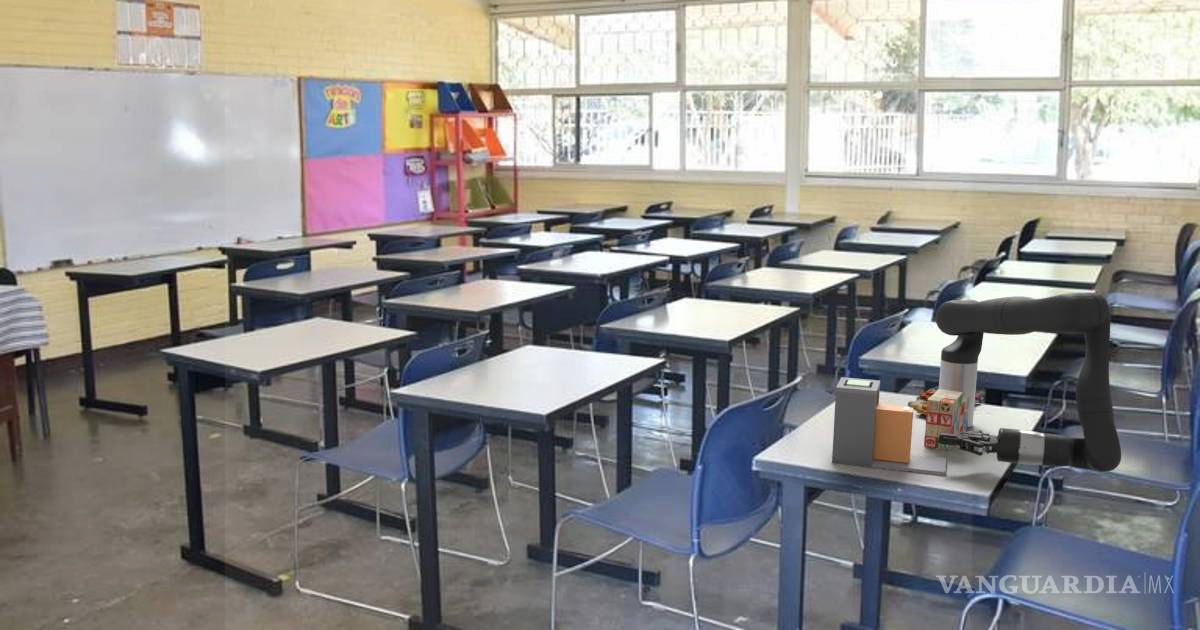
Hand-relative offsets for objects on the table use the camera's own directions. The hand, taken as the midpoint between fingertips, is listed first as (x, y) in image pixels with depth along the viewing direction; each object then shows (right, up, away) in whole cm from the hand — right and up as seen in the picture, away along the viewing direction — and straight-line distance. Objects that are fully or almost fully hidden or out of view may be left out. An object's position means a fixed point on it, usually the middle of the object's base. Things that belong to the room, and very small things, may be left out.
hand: (939, 438), depth 236 cm
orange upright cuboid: (-10, -6, +4) cm, 12 cm away
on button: (-18, +8, +5) cm, 20 cm away
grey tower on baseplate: (-10, -6, +5) cm, 13 cm away
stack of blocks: (+10, -3, +25) cm, 27 cm away
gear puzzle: (+19, +2, +56) cm, 59 cm away
